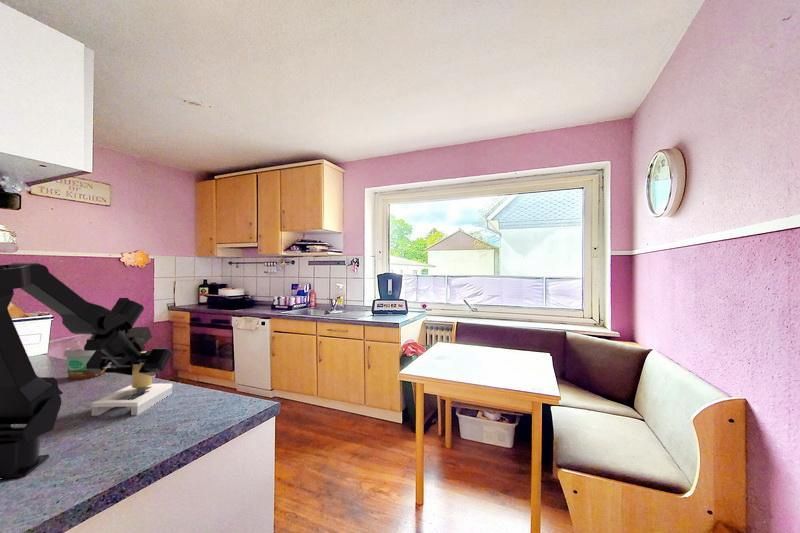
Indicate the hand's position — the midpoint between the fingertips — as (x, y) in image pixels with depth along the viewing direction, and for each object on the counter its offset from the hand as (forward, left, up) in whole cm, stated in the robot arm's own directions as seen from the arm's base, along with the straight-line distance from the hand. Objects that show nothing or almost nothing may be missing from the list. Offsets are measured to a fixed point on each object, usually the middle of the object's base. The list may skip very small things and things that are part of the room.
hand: (145, 374), depth 93 cm
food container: (+26, +27, -7) cm, 38 cm away
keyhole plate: (-4, +1, -7) cm, 8 cm away
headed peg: (-1, 0, -7) cm, 7 cm away
